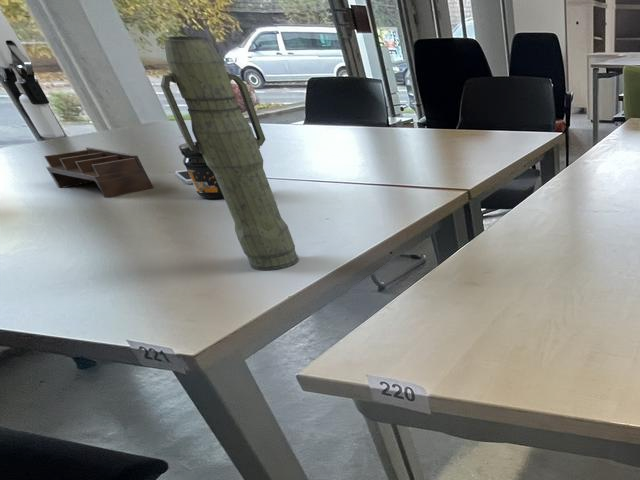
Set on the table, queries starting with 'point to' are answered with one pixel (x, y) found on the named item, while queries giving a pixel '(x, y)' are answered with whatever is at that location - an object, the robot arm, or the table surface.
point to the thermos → (228, 147)
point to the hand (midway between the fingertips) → (33, 101)
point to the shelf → (99, 170)
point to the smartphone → (184, 176)
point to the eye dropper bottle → (40, 116)
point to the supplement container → (200, 173)
